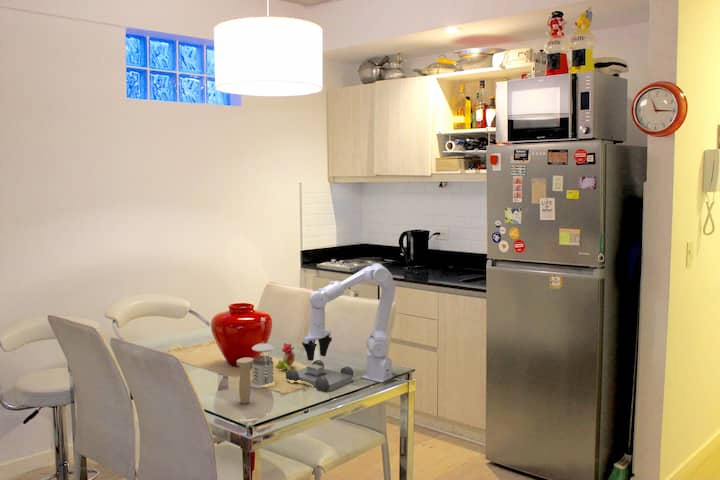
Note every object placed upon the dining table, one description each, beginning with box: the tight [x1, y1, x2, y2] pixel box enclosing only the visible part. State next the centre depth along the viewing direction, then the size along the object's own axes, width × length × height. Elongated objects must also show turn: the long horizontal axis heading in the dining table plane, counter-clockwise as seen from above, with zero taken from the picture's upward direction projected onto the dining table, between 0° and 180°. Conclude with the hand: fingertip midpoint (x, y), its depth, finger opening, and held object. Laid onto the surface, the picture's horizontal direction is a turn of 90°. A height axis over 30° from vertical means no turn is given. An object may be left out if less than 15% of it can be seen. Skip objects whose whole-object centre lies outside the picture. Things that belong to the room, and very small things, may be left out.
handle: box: [236, 356, 254, 405], centre depth 242 cm, size 5×6×15 cm
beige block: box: [306, 364, 325, 377], centre depth 269 cm, size 5×4×5 cm
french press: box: [251, 317, 275, 389], centre depth 261 cm, size 10×12×25 cm
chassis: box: [285, 359, 354, 392], centre depth 267 cm, size 20×17×5 cm
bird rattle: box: [275, 342, 296, 371], centre depth 281 cm, size 6×11×9 cm
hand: (316, 358), depth 269 cm, fingers open, 7 cm apart
